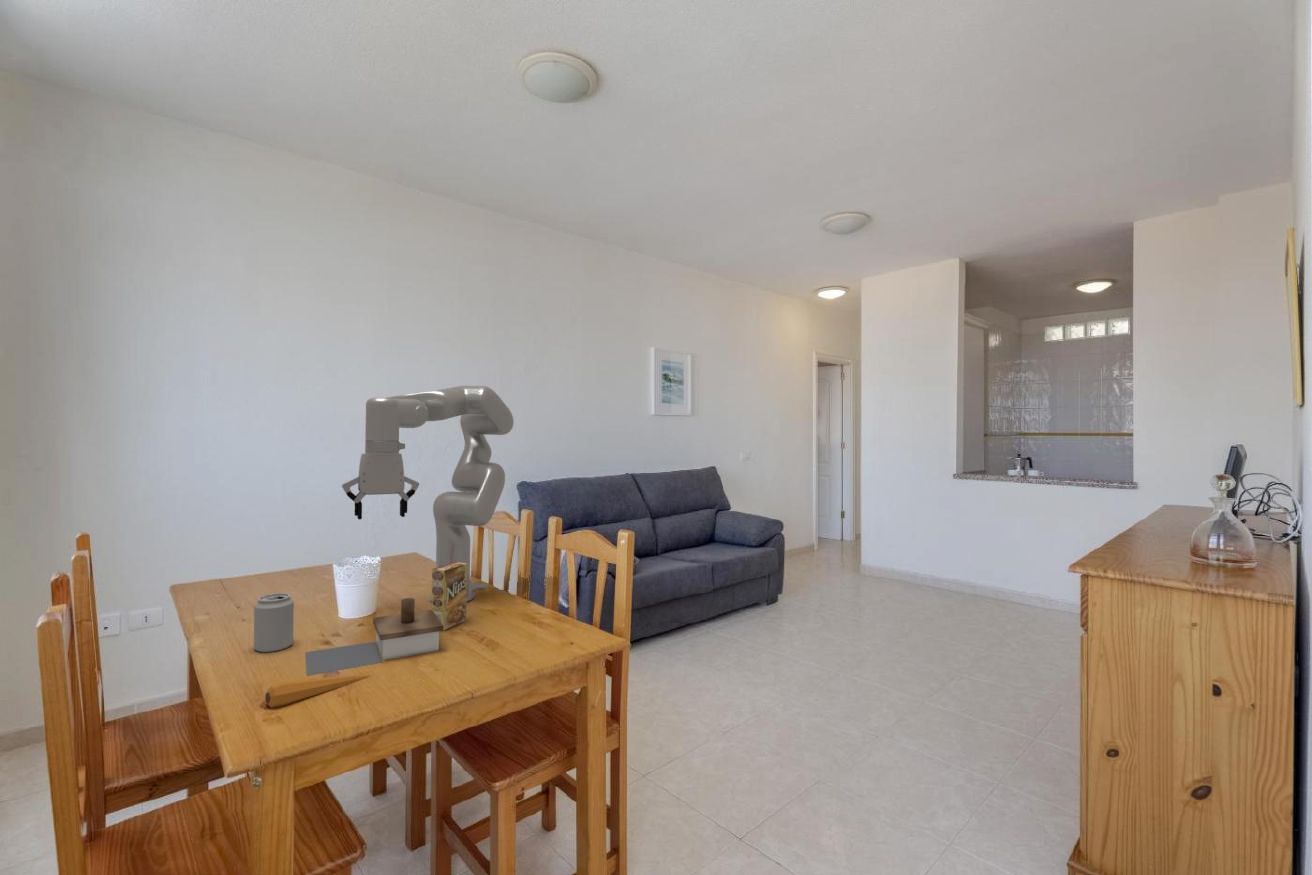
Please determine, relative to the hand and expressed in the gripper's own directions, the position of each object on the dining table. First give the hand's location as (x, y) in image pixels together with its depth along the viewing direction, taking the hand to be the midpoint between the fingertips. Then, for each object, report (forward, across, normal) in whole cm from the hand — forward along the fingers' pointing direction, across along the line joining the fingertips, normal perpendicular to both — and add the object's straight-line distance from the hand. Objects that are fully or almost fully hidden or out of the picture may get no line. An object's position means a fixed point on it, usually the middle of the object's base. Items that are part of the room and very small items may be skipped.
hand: (381, 517), depth 146 cm
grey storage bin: (+28, -4, +15) cm, 32 cm away
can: (+28, +22, +1) cm, 36 cm away
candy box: (+28, -16, +3) cm, 33 cm away
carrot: (+29, +13, +31) cm, 44 cm away
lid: (+23, -4, +15) cm, 28 cm away
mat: (+28, +9, +15) cm, 33 cm away
